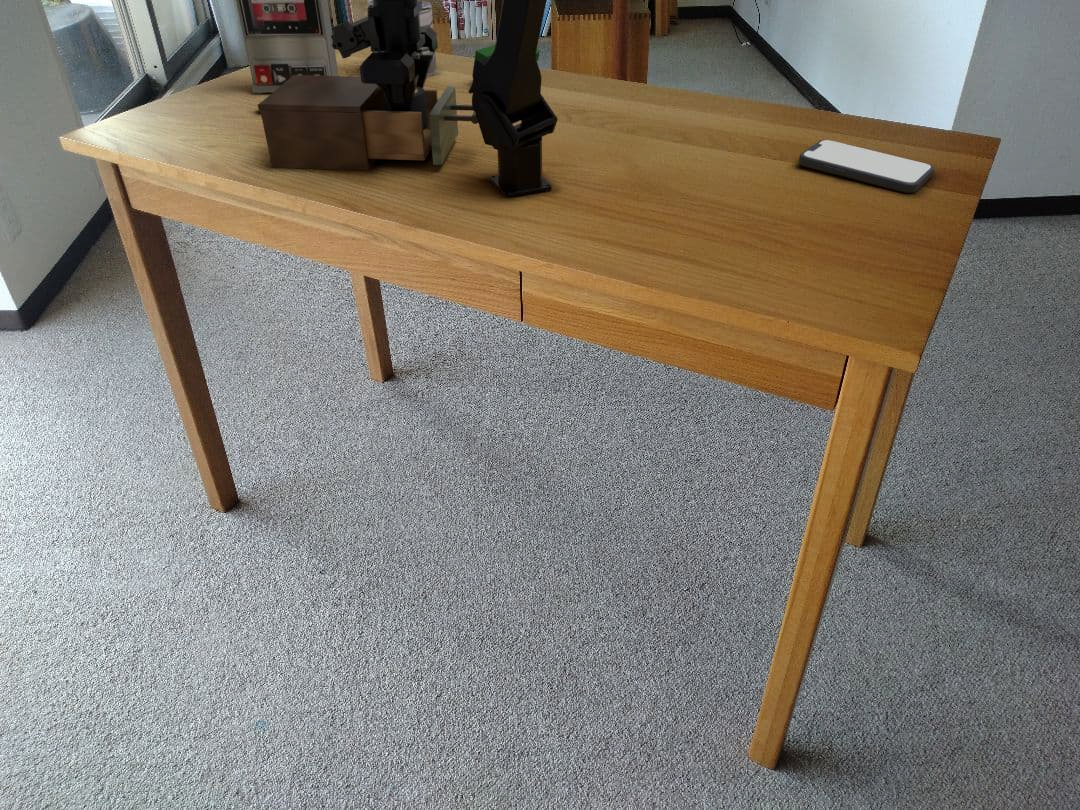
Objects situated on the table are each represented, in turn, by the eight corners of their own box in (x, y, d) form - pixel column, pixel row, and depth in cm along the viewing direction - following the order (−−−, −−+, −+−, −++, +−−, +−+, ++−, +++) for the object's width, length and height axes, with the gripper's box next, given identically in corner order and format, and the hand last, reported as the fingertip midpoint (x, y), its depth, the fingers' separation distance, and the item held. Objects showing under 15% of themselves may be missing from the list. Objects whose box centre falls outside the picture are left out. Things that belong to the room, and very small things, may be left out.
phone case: (934, 176, 110) (820, 148, 118) (937, 165, 109) (823, 137, 117) (911, 197, 105) (794, 166, 113) (915, 185, 104) (796, 155, 112)
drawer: (490, 135, 121) (488, 87, 117) (477, 166, 111) (474, 115, 107) (375, 131, 122) (369, 84, 118) (351, 162, 112) (344, 111, 108)
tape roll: (421, 118, 118) (418, 83, 115) (432, 130, 114) (429, 94, 111) (383, 123, 116) (379, 87, 113) (393, 135, 112) (389, 99, 109)
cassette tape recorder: (252, 94, 140) (217, -75, 125) (261, 84, 145) (228, -80, 130) (335, 93, 140) (309, -76, 125) (340, 83, 145) (317, -81, 130)
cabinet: (392, 136, 123) (386, 77, 118) (368, 170, 112) (360, 106, 107) (304, 134, 124) (293, 74, 119) (271, 167, 113) (258, 103, 108)
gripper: (353, -20, 113) (368, 97, 122) (309, 10, 98) (330, 140, 108) (433, -18, 112) (442, 99, 122) (401, 12, 97) (414, 143, 107)
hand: (407, 119), depth 114 cm, fingers closed on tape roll, 5 cm apart
